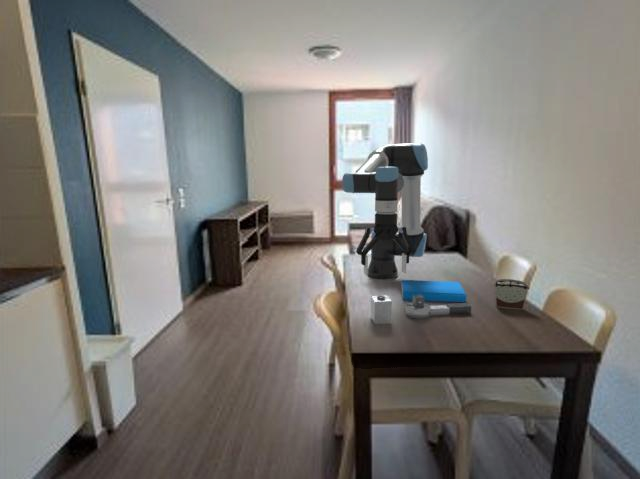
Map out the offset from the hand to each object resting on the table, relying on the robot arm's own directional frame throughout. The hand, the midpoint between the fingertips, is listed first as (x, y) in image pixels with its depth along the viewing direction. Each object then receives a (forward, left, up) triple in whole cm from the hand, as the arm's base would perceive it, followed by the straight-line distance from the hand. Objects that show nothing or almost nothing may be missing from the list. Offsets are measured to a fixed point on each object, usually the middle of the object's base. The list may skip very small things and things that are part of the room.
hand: (384, 273), depth 134 cm
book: (-25, +27, -18) cm, 41 cm away
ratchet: (-4, +21, -17) cm, 28 cm away
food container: (-8, +52, -18) cm, 55 cm away
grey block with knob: (0, -1, -17) cm, 17 cm away
